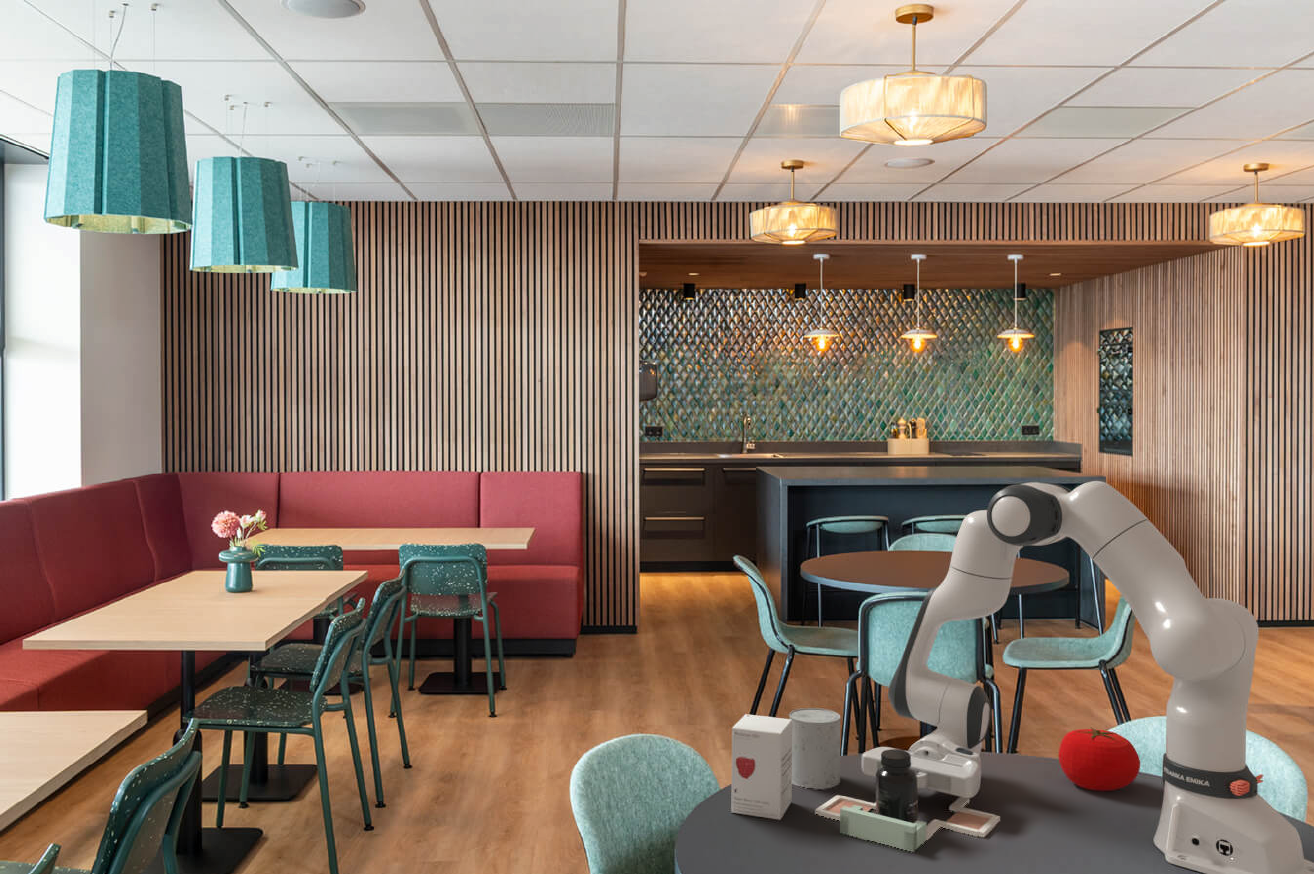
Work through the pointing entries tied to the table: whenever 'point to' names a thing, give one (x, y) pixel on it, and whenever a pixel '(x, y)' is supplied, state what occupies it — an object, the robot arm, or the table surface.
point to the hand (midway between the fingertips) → (902, 783)
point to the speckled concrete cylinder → (815, 748)
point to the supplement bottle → (896, 787)
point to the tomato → (1098, 759)
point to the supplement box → (761, 766)
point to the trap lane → (902, 822)
